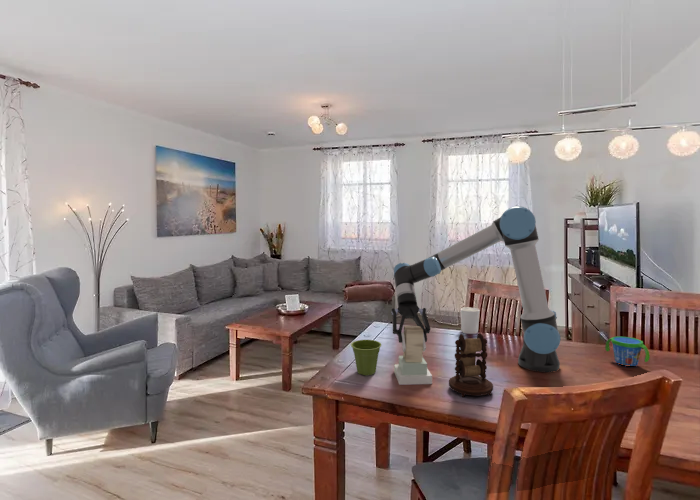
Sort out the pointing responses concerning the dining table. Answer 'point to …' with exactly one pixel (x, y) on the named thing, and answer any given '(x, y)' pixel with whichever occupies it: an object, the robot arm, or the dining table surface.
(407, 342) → the maple brick
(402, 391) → the dining table surface
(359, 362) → the plant pot
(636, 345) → the snack cup
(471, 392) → the brown wooden spool stand
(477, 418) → the dining table surface
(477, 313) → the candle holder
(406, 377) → the tower base
